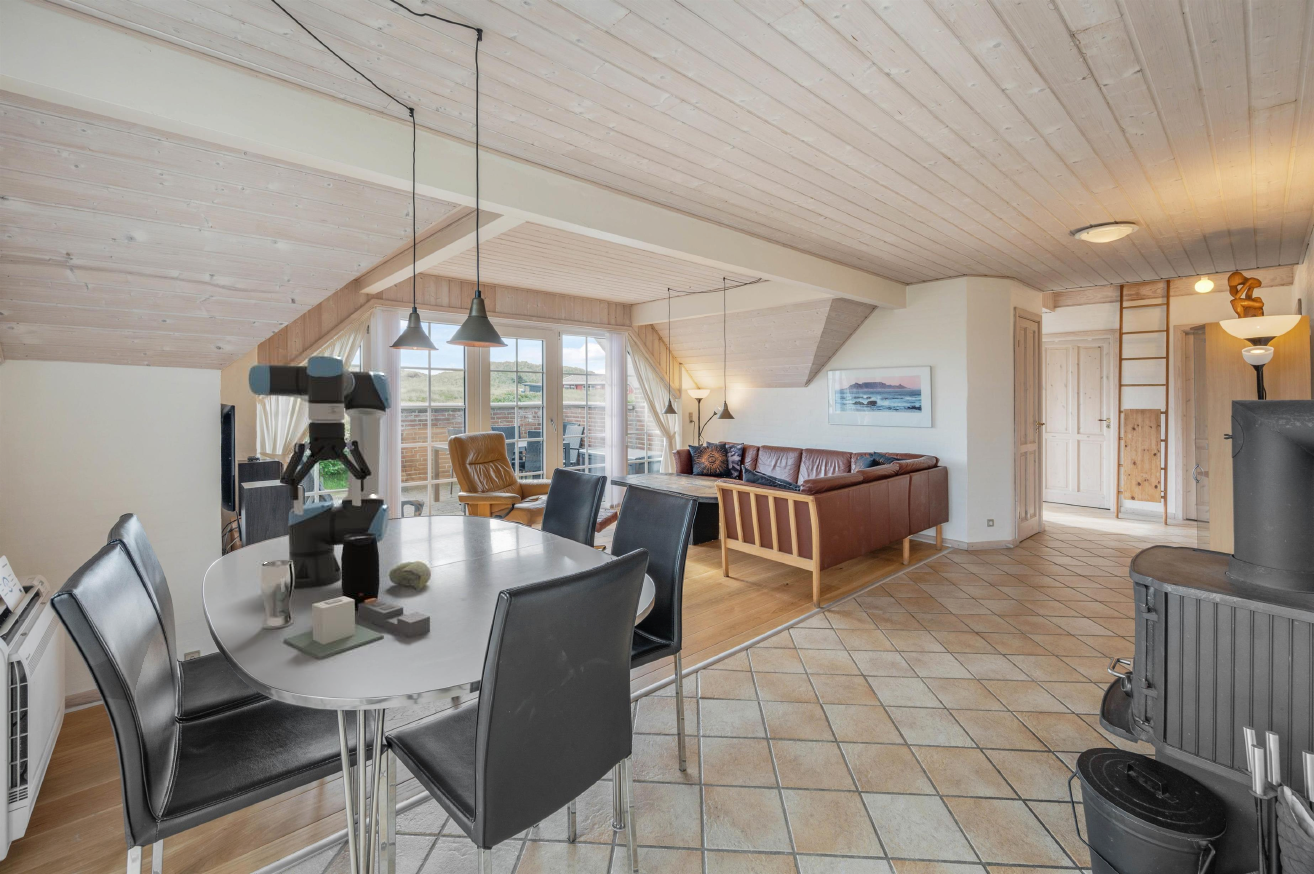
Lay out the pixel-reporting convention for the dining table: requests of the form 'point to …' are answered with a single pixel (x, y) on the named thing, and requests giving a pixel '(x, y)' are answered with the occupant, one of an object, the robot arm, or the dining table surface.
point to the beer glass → (277, 592)
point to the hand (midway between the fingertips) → (328, 509)
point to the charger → (333, 619)
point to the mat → (334, 647)
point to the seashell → (411, 574)
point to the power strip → (393, 617)
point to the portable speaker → (360, 567)
